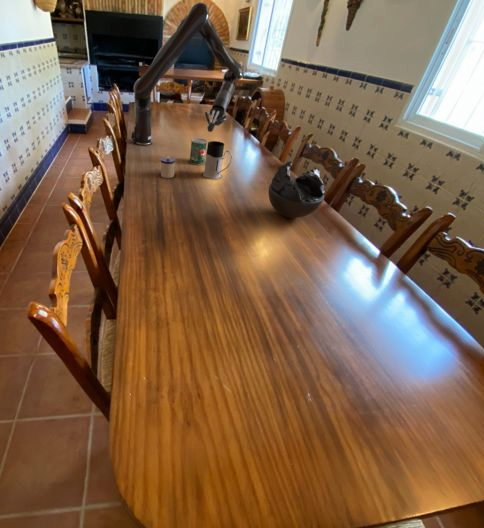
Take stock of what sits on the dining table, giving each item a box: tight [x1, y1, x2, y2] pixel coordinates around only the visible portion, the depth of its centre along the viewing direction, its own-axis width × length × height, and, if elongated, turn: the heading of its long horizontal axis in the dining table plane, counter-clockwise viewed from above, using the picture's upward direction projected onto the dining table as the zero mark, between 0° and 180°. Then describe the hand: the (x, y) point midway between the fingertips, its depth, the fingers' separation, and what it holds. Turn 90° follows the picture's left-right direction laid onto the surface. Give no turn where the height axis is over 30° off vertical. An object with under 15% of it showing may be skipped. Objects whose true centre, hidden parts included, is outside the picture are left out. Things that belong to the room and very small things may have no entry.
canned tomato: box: [189, 138, 208, 166], centre depth 154 cm, size 8×8×11 cm
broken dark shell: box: [267, 161, 325, 219], centre depth 111 cm, size 20×20×19 cm
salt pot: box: [160, 155, 176, 179], centre depth 139 cm, size 7×7×9 cm
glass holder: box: [202, 140, 233, 180], centre depth 138 cm, size 9×14×15 cm, turn 44°
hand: (209, 130), depth 157 cm, fingers closed
